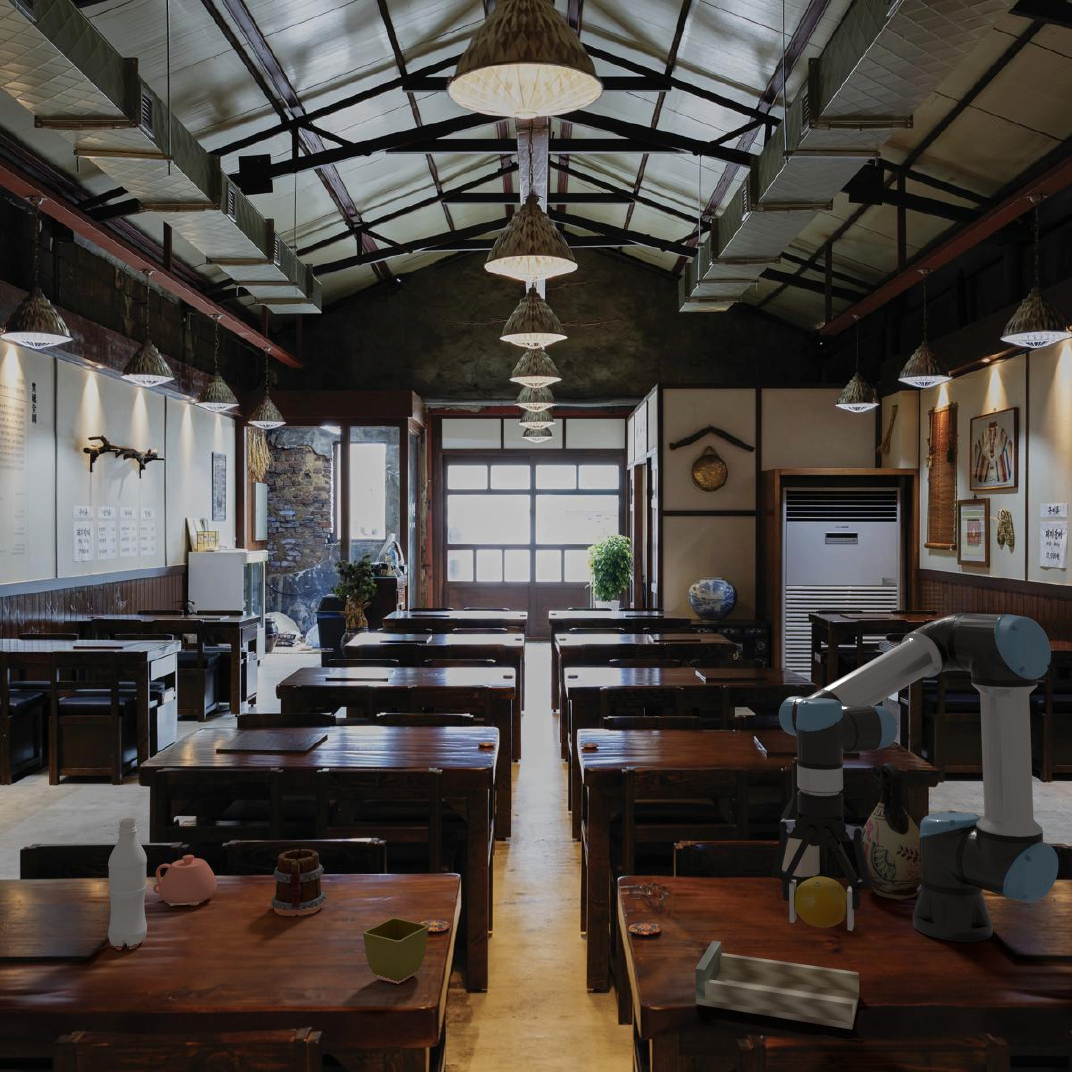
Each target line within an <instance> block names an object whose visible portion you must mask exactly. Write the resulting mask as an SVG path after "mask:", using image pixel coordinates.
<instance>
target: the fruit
mask: <svg viewBox="0 0 1072 1072" xmlns="http://www.w3.org/2000/svg"><path fill="white" fill-rule="evenodd" d="M794 903H795V908H796V914H797V915H798V916H799V917H800V919H802V921H804V923H805V924H808V925H809V926H812V927H815V928H824V929H825V928H831V927H836V926H838V925H840V924H841V923H842V922H843V921H844V920H845V918H846V916H847V890H846V889H845V888H844V887H843V885H842V884H841V883H839V882H838V881H837V880H835V879H833V878H830V877H827V876H821V875H820V876H818V877H813V878H810V879H808V880H806V881H804V882H802V883H801V884H800V885H799V886H798V888H797V890H796V892H795V897H794Z"/></svg>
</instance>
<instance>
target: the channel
mask: <svg viewBox="0 0 1072 1072" xmlns="http://www.w3.org/2000/svg"><path fill="white" fill-rule="evenodd" d="M694 972H695V1005H700V1006H705V1007H711V1008H719V1009H724V1010H732V1011H736V1012H737V1011H738V1012H743V1013H748V1014H756V1015H761V1016H767V1017H768V1016H769V1017H775V1018H779V1019H780V1018H781V1019H786V1020H792V1021H799V1022H805V1023H811V1024H816V1025H823V1026H829V1027H836V1028H841V1029H849V1030H853V1027H854V1022H855V1017H856V1013H857V1008H858V1003H859V999H860V973H859V971H858V972H857V971H851V970H846V969H845V970H844V969H838V968H837V969H836V968H832V967H831V968H830V967H822V966H815V965H809V964H802V963H795V962H788V961H783V960H782V961H780V960H773V959H768V958H767V959H766V958H759V957H754V956H747V955H746V956H745V955H740V954H739V955H738V954H732V953H725V952H722V942H721V941H718V940H711V943H710V945H709V946H708V948H707V949H706V951H705V952H704V954H703V955H702V957H701V959H700V960H699V962H698V963H697V965H696V966H695V971H694Z"/></svg>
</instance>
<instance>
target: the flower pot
mask: <svg viewBox="0 0 1072 1072" xmlns="http://www.w3.org/2000/svg"><path fill="white" fill-rule="evenodd" d="M428 934H429V925H427V924H424V923H423V924H422V923H419V922H415V921H410V920H406V919H401V918H398V917H391V918H389V919H387V920H386V921H383V922H382V923H379V924H377V925H376V926H373V927H372V928H369V929H366V930H364V931H363V932H362V936H363V942H364V943H363V944H364V949H365V956H366V960H367V963H368V966H369V969H370V970H371V972H372V973H373V975H374V974H376V975H380V976H383V977H385V978H389V979H391V980H394V981H398V982H399V981H401V980H403V979H404V978H406V977H407V976H409V975H411V974H413V973H415V972H417V973H418V971H419V970H420V967H421V966H422V964H423V961H424V959H425V956H426V951H427V945H428V936H429V935H428Z"/></svg>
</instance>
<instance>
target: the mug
mask: <svg viewBox="0 0 1072 1072" xmlns="http://www.w3.org/2000/svg"><path fill="white" fill-rule="evenodd" d="M319 856H320V855H319V853H318V851H317V850H316V851H315V850H313V849H307V848H303V849H302V848H301V849H300V850H299V849H292V850H288V851H283V852H282V853H280V854H279V855H278V856H277V866H276V867H275V868H274V872H273V878H274V879H275V880H276V884H275V894H273V896H272V898H271V902H270V905H271V906H273V907H274V908H278V909H282V910H301V909H306V908H313V907H315V906H318V905H319V904H321V903H322V902H323V901H324V899H325V900H327V895H325V892H324V891H323V890H322V886H321V885H322V883H321V877H322V875H323V873H324V872H325V871H324V870H325V868H324V867H323V865H322V864H321V863H320V857H319ZM273 907H272V908H273ZM274 908H273V909H274Z"/></svg>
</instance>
